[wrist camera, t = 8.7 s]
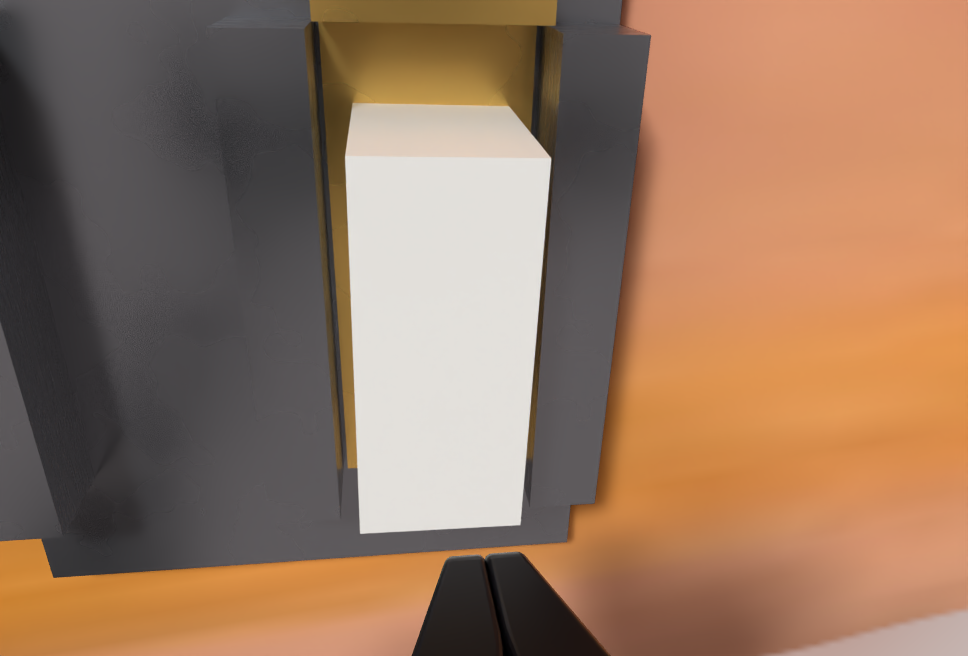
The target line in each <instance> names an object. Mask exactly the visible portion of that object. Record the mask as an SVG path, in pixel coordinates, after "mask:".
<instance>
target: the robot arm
mask: <svg viewBox="0 0 968 656" xmlns="http://www.w3.org/2000/svg"><path fill="white" fill-rule="evenodd" d="M412 656H610V654H609V653H608V652H607V651H606V650H605V649H604V647H603V646H602V645H601V644H600V643H599V642H598V640H597V639H596V638H595V637H594V636H593V635H592V633H591V632H590V631H589V630H588V629H587V628H586V626H585V625H584V624H583V623H582V622H581V621H580V619H579V618H578V617H577V616H576V615H575V614H574V612H573V611H572V610H571V609H570V608H569V606H568V605H567V604H566V603H565V602H564V601H563V599H562V598H561V597H560V596H559V595H558V594H557V592H556V591H555V590H554V589H553V588H552V587H551V585H550V584H549V583H548V582H547V581H546V580H545V578H544V577H543V576H542V575H541V574H540V573H539V571H538V570H537V569H536V568H535V567H534V566H533V564H532V563H531V562H530V561H529V560H528V559H527V557H526V556H525V555H524V554H522V553H520V552H507V553H493V554H489V555H487V556H486V558H485V560H484V558H483V557H482V556H481V555H465V556H452V557H449V558H447V560H446V561H445V563H444V565H443V568H442V571H441V574H440V577H439V580H438V583H437V585H436V588H435V591H434V594H433V597H432V600H431V602H430V605H429V608H428V611H427V614H426V617H425V620H424V622H423V625H422V628H421V631H420V634H419V637H418V639H417V642H416V645H415V648H414V651H413V654H412Z"/></svg>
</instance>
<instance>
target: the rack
mask: <svg viewBox="0 0 968 656" xmlns="http://www.w3.org/2000/svg"><path fill="white" fill-rule="evenodd" d="M621 8H622V0H0V541H9V540H25V539H42V542H43V545H44V549H45V552H46V555H47V558H48V562H49V565H50V568H51V571H52V574H53V578H57V577H71V576H86V575H100V574H115V573H129V572H143V571H158V570H172V569H186V568H201V567H215V566H230V565H244V564H258V563H273V562H287V561H301V560H316V559H330V558H345V557H359V556H373V555H388V554H402V553H416V552H431V551H445V550H460V549H474V548H488V547H503V546H517V545H532V544H546V543H560V542H567V535H568V525H569V515H570V506H571V505H578V504H594V503H595V495H596V487H597V479H598V471H599V462H600V454H601V446H602V437H603V429H604V421H605V413H606V404H607V396H608V388H609V379H610V371H611V363H612V355H613V346H614V338H615V330H616V321H617V313H618V305H619V296H620V288H621V280H622V272H623V263H624V255H625V247H626V238H627V230H628V222H629V214H630V205H631V197H632V189H633V180H634V172H635V164H636V156H637V147H638V139H639V131H640V122H641V114H642V106H643V97H644V89H645V81H646V73H647V64H648V56H649V48H650V39H651V35H649V34H646V33H643V32H640V31H637V30H634V29H631V28H629V27H626V26H623V25H620V17H621ZM353 103H378V104H426V105H475V106H509V107H510V108H511V109H512V110H513V112H514V113H515V114H516V115H517V117H518V118H519V119H520V120H521V122H522V123H523V124H524V125H525V127H526V128H527V129H528V130H529V131H530V133H531V134H532V135H533V136H534V138H535V139H536V140H537V141H538V143H539V144H540V145H541V146H542V147H543V149H544V150H545V151H546V152H547V154H548V155H549V156H550V157H551V168H550V180H549V192H548V203H547V215H546V227H545V239H544V251H543V263H542V275H541V287H540V298H539V310H538V322H537V334H536V346H535V358H534V370H533V382H532V393H531V405H530V417H529V429H528V441H527V453H526V465H525V476H524V488H523V500H522V512H521V524H520V525H513V526H495V527H476V528H458V529H439V530H421V531H403V532H384V533H366V534H360V519H359V494H358V468H357V443H356V418H355V393H354V368H353V343H352V318H351V293H350V267H349V242H348V217H347V192H346V167H345V153H346V146H347V139H348V132H349V125H350V118H351V111H352V104H353Z"/></svg>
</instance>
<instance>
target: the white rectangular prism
mask: <svg viewBox="0 0 968 656" xmlns="http://www.w3.org/2000/svg"><path fill="white" fill-rule="evenodd" d="M345 167H346V192H347V217H348V242H349V267H350V293H351V318H352V343H353V368H354V393H355V418H356V443H357V468H358V494H359V519H360V534H366V533H384V532H403V531H421V530H439V529H458V528H476V527H495V526H513V525H520V524H521V512H522V500H523V488H524V476H525V465H526V453H527V441H528V429H529V417H530V405H531V393H532V382H533V370H534V358H535V346H536V334H537V322H538V310H539V298H540V287H541V275H542V263H543V251H544V239H545V227H546V215H547V203H548V192H549V180H550V168H551V157H550V156H549V155H548V154H547V152H546V151H545V150H544V149H543V147H542V146H541V145H540V144H539V143H538V141H537V140H536V139H535V138H534V136H533V135H532V134H531V133H530V131H529V130H528V129H527V128H526V127H525V125H524V124H523V123H522V122H521V120H520V119H519V118H518V117H517V115H516V114H515V113H514V112H513V110H512V109H511V108H510V107H509V106H475V105H426V104H378V103H353V104H352V111H351V118H350V125H349V132H348V139H347V146H346V153H345Z"/></svg>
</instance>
